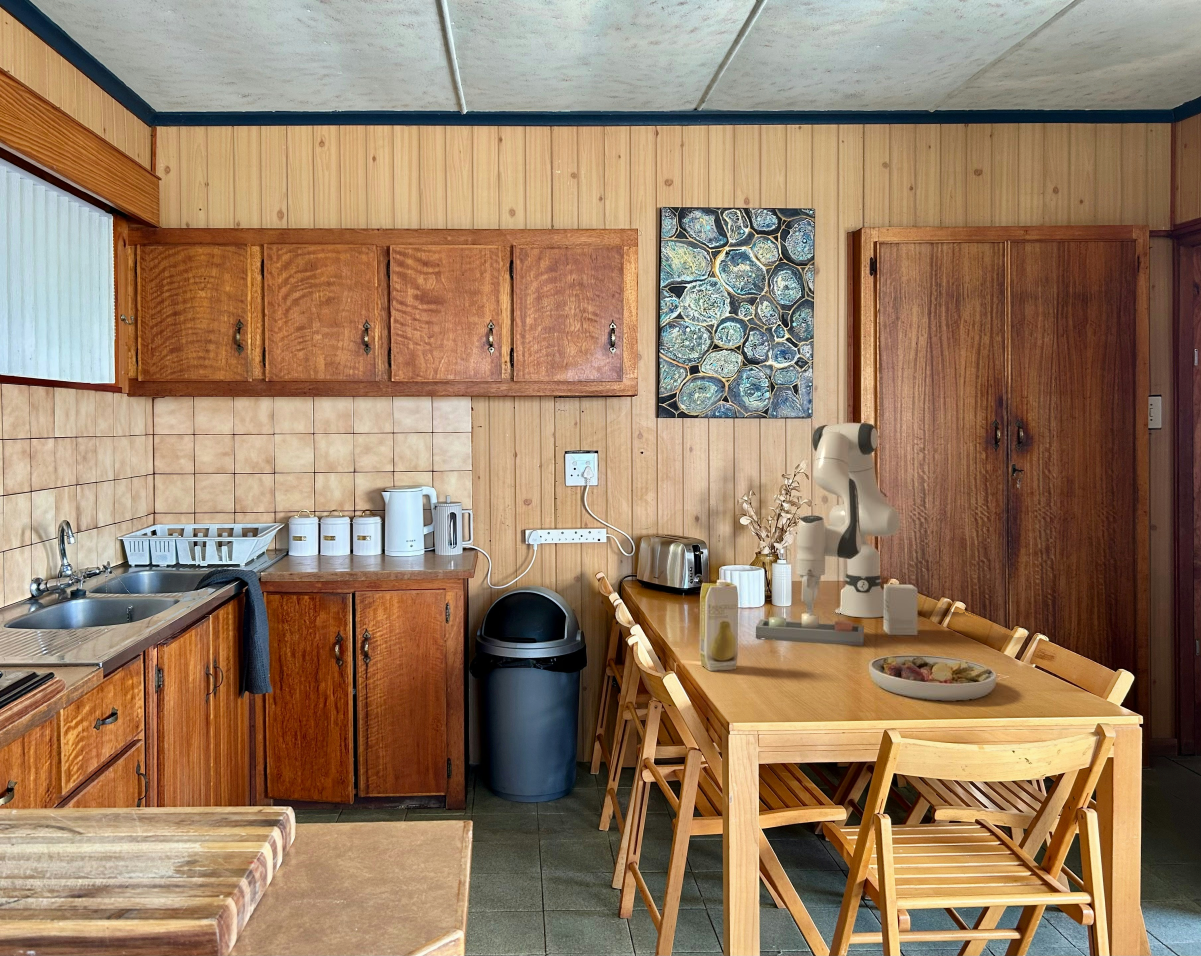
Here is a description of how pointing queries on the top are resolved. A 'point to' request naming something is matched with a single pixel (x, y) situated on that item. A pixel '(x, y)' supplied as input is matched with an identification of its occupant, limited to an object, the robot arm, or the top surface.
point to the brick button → (843, 626)
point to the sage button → (777, 622)
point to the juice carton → (719, 626)
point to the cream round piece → (810, 621)
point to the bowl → (932, 677)
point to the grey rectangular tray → (811, 633)
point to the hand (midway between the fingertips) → (809, 612)
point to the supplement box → (900, 609)
